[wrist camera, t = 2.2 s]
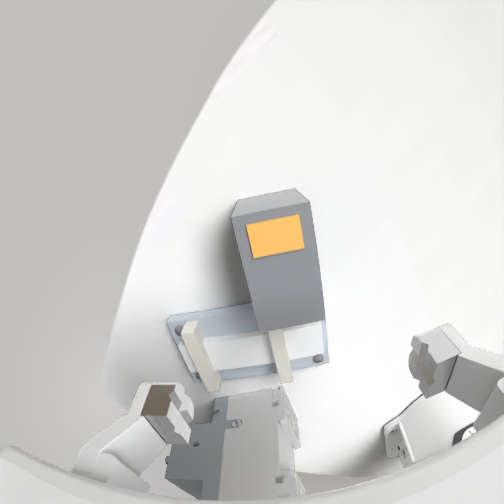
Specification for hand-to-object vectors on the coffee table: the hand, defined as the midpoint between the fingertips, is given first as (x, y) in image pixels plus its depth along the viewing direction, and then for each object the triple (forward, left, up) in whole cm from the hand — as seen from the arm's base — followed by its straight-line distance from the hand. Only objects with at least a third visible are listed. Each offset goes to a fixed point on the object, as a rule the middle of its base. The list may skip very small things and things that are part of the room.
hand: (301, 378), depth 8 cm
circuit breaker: (-21, +9, -15) cm, 27 cm away
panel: (-9, +4, -15) cm, 18 cm away
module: (0, 0, -15) cm, 15 cm away
